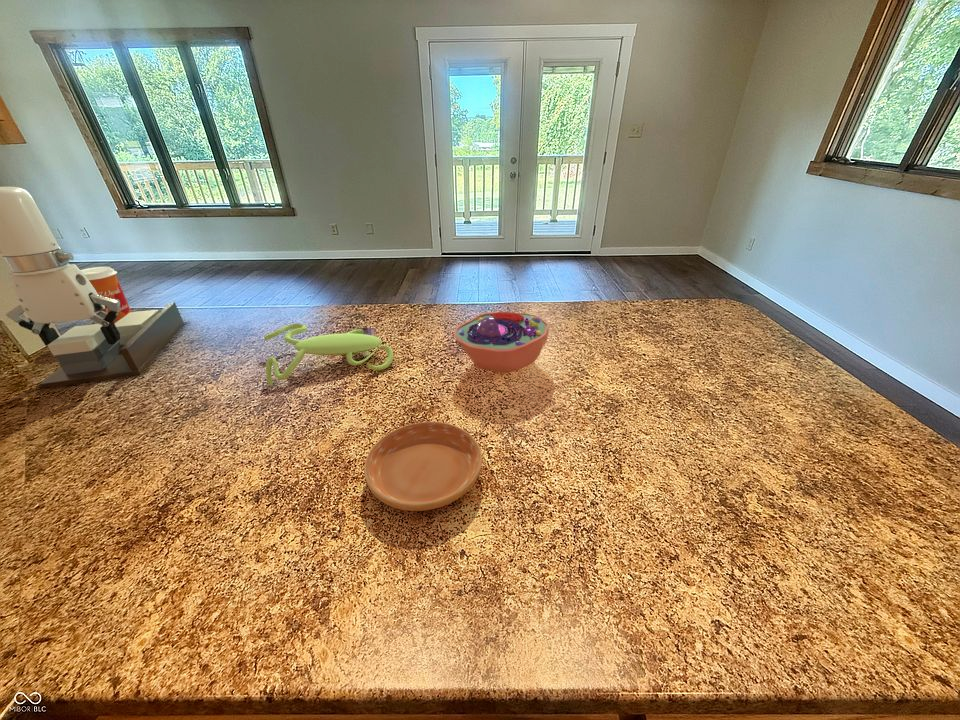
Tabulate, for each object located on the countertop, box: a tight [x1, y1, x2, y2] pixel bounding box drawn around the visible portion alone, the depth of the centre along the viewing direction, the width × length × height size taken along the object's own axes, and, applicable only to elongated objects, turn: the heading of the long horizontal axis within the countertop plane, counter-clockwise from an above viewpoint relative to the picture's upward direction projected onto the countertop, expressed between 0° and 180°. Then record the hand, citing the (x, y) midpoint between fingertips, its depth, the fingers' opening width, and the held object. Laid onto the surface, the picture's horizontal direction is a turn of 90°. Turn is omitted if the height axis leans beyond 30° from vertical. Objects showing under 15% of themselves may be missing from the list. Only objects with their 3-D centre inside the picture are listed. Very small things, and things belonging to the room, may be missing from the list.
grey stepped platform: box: [38, 301, 185, 389], centre depth 84 cm, size 16×26×6 cm, turn 18°
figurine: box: [263, 323, 394, 387], centre depth 81 cm, size 18×27×6 cm
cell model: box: [453, 310, 550, 374], centre depth 77 cm, size 17×20×11 cm
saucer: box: [363, 421, 483, 512], centre depth 53 cm, size 16×16×3 cm
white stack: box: [115, 309, 161, 345], centre depth 89 cm, size 6×9×4 cm
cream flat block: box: [46, 323, 106, 356], centre depth 77 cm, size 6×9×2 cm, turn 18°
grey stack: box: [54, 339, 122, 375], centre depth 78 cm, size 6×9×4 cm
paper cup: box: [80, 266, 132, 324], centre depth 95 cm, size 8×8×14 cm
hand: (87, 345), depth 77 cm, fingers open, 9 cm apart
